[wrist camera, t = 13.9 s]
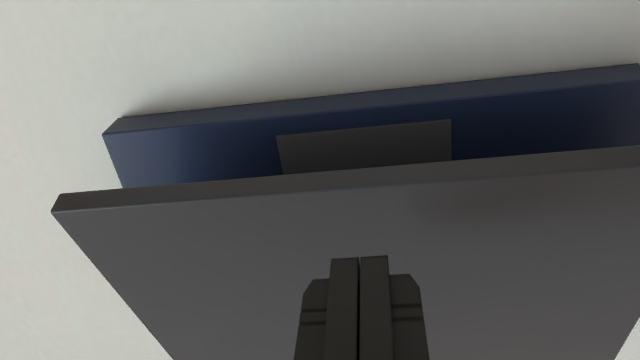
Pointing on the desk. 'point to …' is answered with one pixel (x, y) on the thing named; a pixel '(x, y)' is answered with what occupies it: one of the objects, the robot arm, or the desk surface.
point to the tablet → (382, 128)
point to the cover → (382, 252)
